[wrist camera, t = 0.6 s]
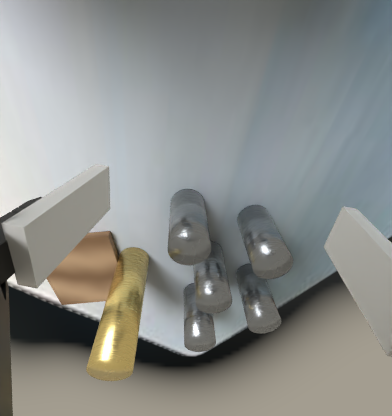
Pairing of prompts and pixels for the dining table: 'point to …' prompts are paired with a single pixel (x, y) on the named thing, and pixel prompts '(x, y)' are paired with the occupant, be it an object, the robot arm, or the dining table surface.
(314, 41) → the dining table surface
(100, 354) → the cylinder
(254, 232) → the spacers
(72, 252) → the board
